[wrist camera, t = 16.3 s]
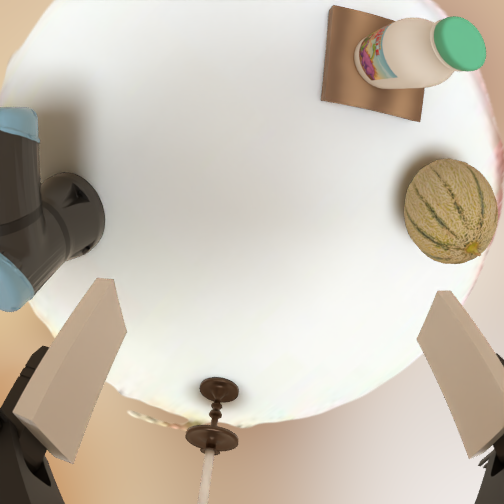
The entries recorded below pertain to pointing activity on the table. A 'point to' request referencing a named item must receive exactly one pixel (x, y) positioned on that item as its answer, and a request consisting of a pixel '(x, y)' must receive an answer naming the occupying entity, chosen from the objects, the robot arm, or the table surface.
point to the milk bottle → (419, 52)
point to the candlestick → (213, 430)
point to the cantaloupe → (450, 211)
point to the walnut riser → (347, 76)
